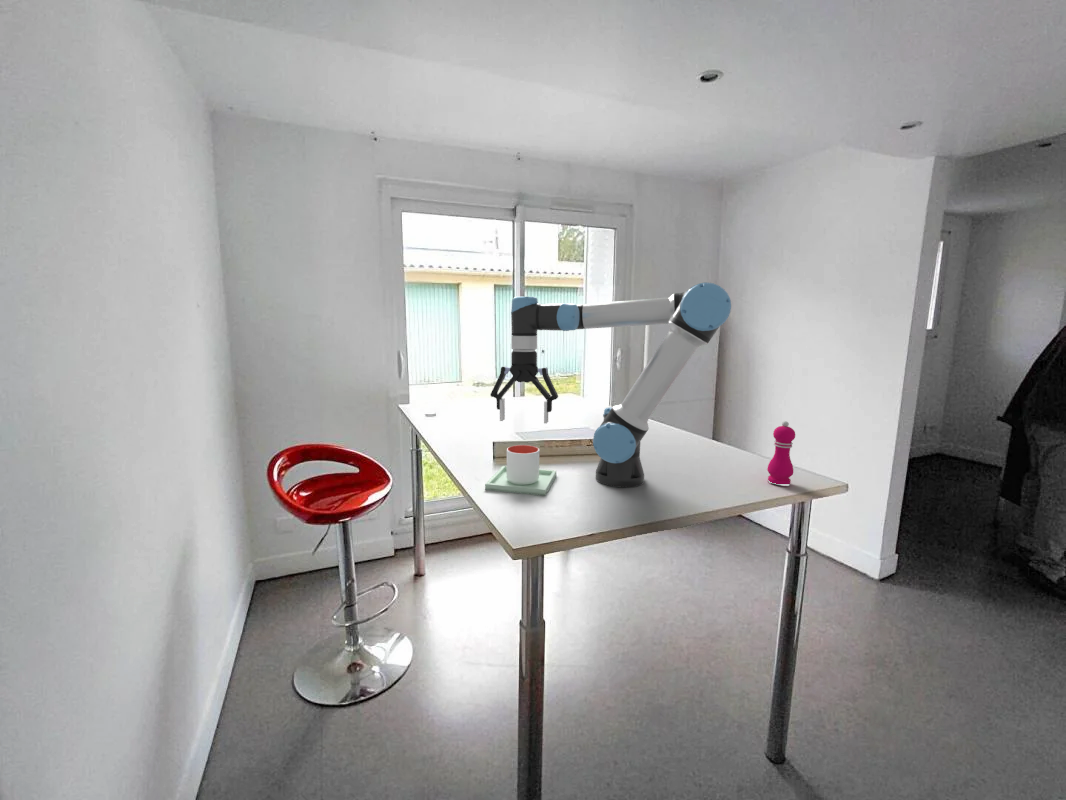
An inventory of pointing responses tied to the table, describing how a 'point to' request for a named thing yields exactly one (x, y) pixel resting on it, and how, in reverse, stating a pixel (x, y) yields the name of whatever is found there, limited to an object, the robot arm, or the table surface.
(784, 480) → the pepper mill
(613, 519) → the table surface
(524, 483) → the cup
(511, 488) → the tray
